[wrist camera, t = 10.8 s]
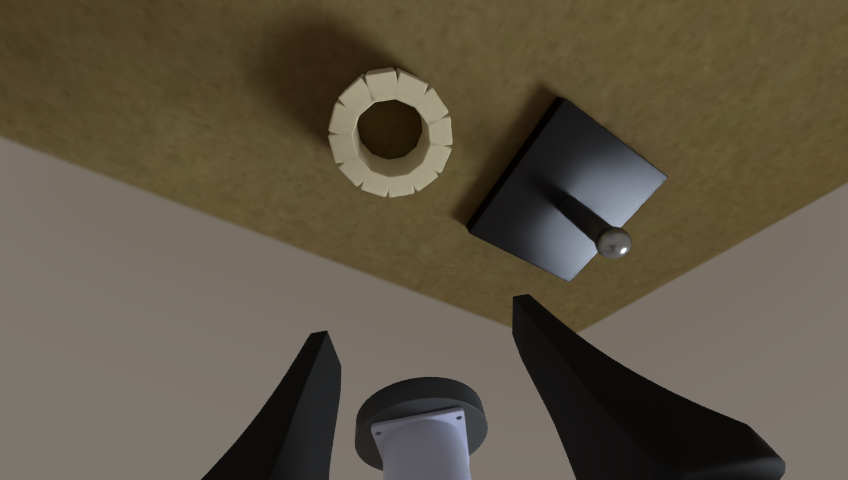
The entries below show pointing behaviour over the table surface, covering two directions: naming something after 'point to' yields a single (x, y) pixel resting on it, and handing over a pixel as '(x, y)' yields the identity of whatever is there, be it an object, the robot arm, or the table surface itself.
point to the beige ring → (395, 172)
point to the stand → (566, 194)
